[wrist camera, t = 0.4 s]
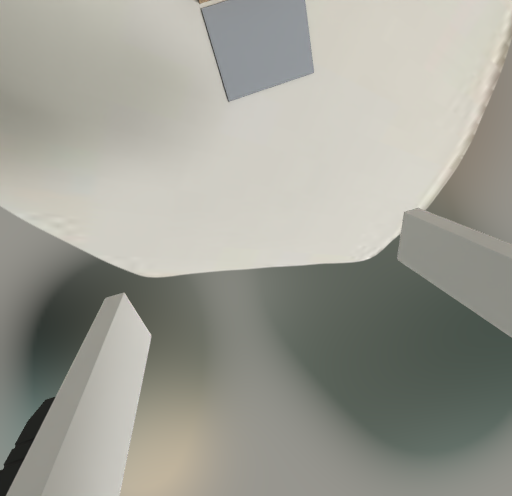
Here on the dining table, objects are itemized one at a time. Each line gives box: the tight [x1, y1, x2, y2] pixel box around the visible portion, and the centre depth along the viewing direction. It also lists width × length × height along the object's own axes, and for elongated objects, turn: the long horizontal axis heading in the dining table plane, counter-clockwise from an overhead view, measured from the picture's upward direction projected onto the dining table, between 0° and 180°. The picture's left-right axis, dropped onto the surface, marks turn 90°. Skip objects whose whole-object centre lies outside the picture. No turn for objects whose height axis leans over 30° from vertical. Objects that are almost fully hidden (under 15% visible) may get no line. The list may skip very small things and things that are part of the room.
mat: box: [201, 0, 314, 101], centre depth 28 cm, size 9×12×1 cm
